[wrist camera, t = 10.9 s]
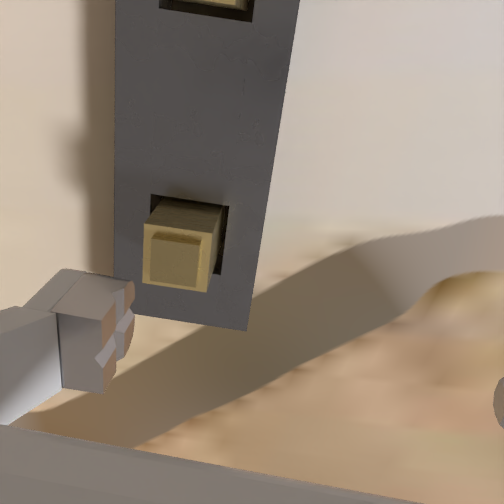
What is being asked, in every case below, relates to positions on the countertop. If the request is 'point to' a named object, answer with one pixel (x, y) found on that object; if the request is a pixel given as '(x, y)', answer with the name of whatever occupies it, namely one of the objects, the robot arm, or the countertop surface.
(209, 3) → the tan square peg
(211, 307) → the grey peg hole board
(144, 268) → the wooden post chunk
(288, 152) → the countertop surface
